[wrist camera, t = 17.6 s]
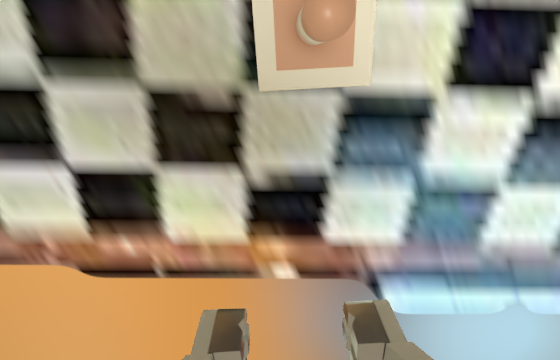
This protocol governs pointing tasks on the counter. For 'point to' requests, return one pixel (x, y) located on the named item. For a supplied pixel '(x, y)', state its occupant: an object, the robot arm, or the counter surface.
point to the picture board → (310, 49)
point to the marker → (324, 20)
